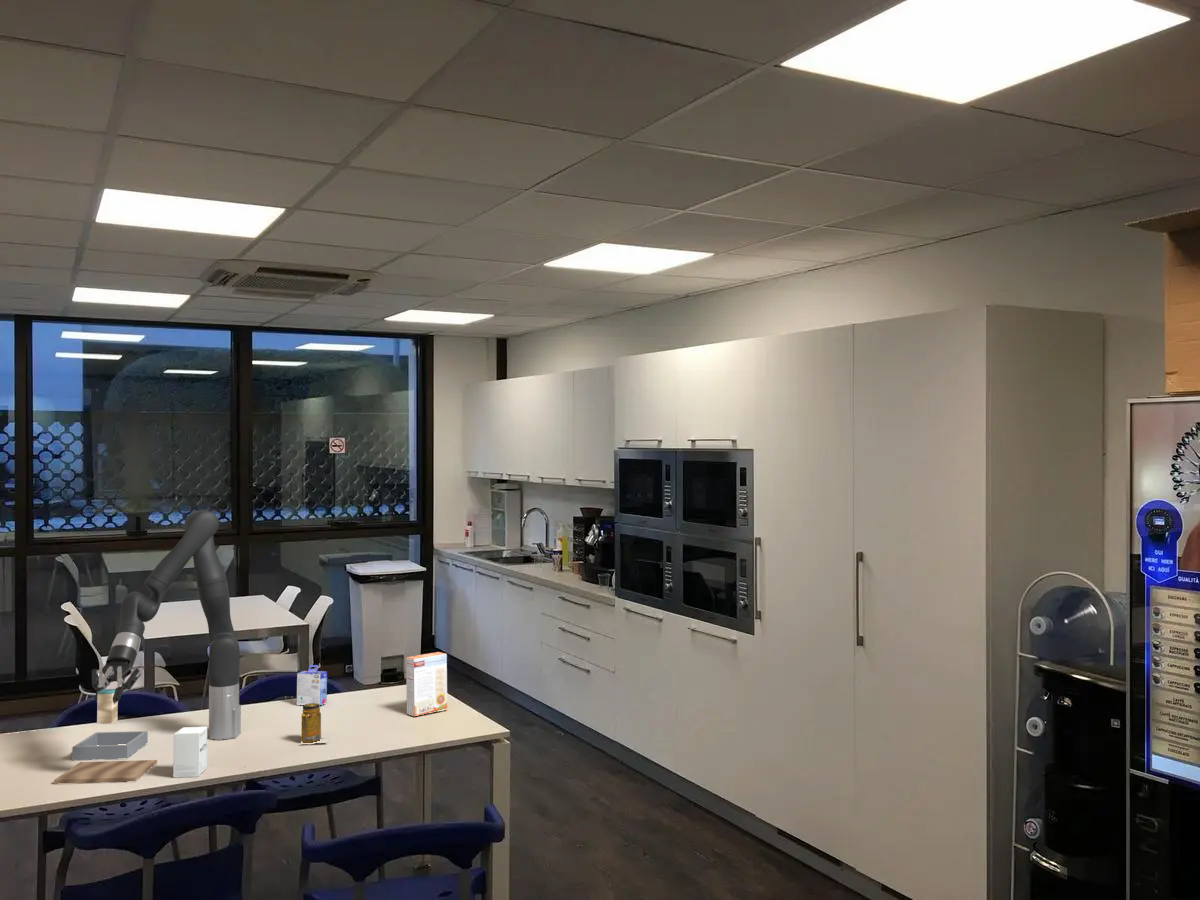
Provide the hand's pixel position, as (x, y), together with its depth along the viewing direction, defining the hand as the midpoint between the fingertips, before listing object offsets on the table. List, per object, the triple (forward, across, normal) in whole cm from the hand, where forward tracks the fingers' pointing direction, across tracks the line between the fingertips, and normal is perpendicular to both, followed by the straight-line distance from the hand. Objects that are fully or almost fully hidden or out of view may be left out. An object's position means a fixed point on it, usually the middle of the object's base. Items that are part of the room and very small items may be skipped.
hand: (106, 700), depth 272 cm
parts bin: (-1, -8, +31) cm, 32 cm away
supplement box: (+16, +24, +14) cm, 32 cm away
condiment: (-5, +53, +35) cm, 64 cm away
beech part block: (+4, 0, +5) cm, 6 cm away
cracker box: (-28, +86, +58) cm, 108 cm away
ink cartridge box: (-39, +42, +69) cm, 90 cm away
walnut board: (+14, 0, +16) cm, 21 cm away
